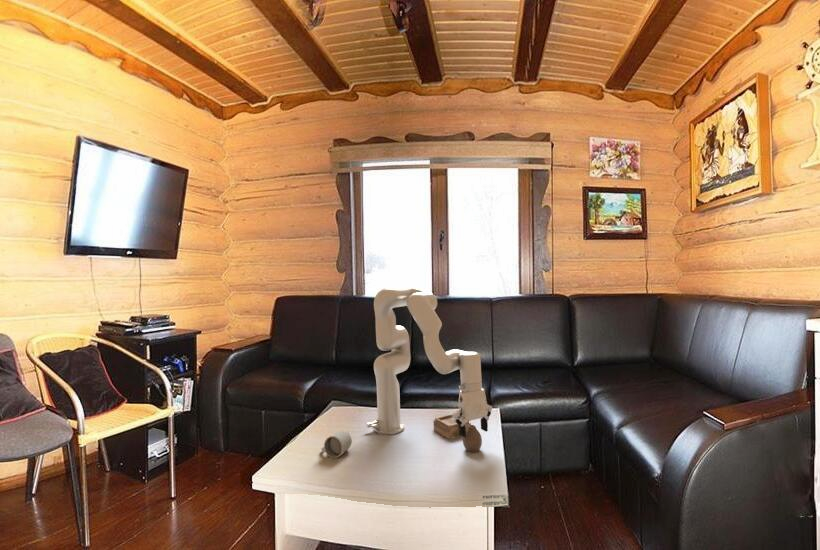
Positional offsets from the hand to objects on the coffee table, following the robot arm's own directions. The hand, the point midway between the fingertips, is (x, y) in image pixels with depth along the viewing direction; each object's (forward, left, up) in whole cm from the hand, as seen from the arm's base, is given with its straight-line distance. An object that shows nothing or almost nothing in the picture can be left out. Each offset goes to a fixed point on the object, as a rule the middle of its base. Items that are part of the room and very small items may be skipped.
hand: (473, 433), depth 148 cm
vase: (0, +1, -7) cm, 7 cm away
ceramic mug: (-45, +24, -7) cm, 51 cm away
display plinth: (+3, +19, -6) cm, 20 cm away
